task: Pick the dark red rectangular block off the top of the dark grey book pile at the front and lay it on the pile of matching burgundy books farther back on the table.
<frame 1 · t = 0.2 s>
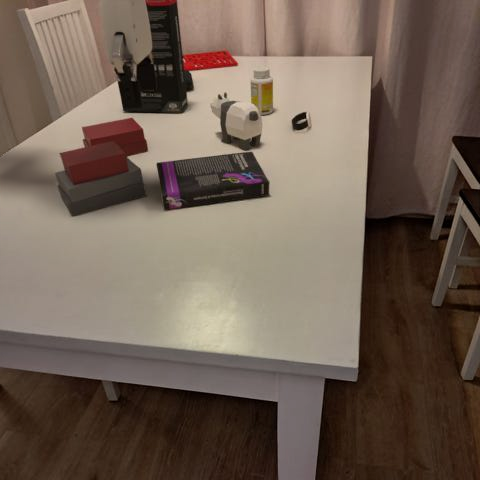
hand: (141, 98, 78), 17 cm above the table, tool pointing down, fingers open, 9 cm apart
supplement bottle: (262, 113, 120), on the table
graphics card box: (156, 110, 126), on the table
box: (211, 188, 89), on the table
grey book pile: (103, 196, 88), on the table
carrying case: (175, 87, 142), on the table
dark red rectangular block: (96, 171, 85), point 5 cm above the table, touching grey book pile
maze puzzle: (204, 62, 164), on the table
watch: (301, 127, 111), on the table
giant panda: (236, 142, 106), on the table
burgundy book pile: (116, 150, 105), on the table
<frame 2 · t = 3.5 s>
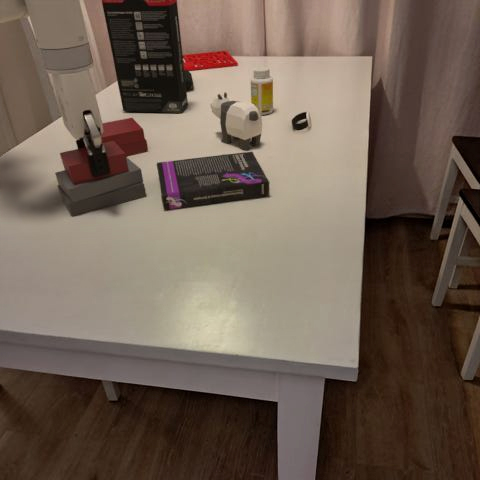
hand: (95, 167, 84), 6 cm above the table, tool pointing down, fingers closed on dark red rectangular block, 7 cm apart
dark red rectangular block: (96, 171, 85), point 5 cm above the table, touching grey book pile, gripper
everything else where it was.
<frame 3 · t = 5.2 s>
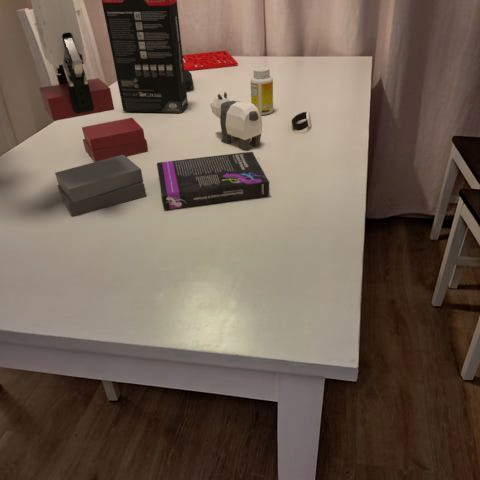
hand: (78, 104, 78), 16 cm above the table, tool pointing down, fingers closed on dark red rectangular block, 7 cm apart
dark red rectangular block: (79, 109, 78), point 16 cm above the table, touching gripper
everything else where it was.
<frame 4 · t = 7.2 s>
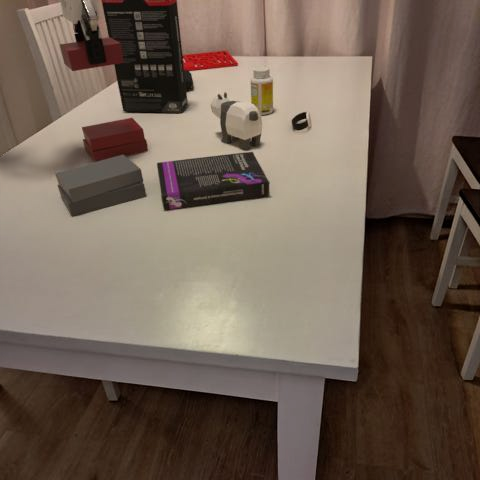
hand: (92, 58, 90), 19 cm above the table, tool pointing down, fingers closed on dark red rectangular block, 7 cm apart
dark red rectangular block: (94, 63, 91), point 18 cm above the table, touching gripper
everything else where it was.
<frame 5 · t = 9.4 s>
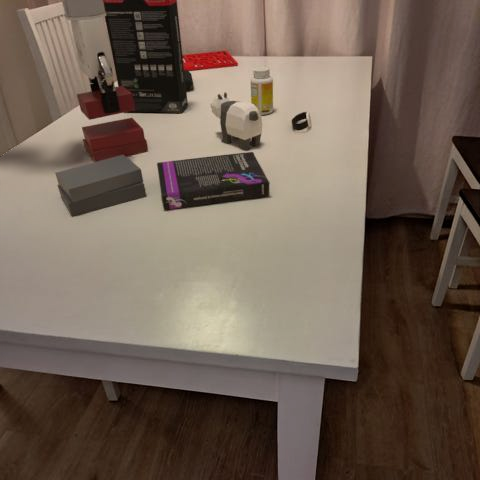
hand: (107, 106, 99), 9 cm above the table, tool pointing down, fingers closed on dark red rectangular block, 7 cm apart
dark red rectangular block: (108, 110, 99), point 9 cm above the table, touching gripper
everything else where it was.
when the fingers open (6 cm above the table, at t = 10.9 s): dark red rectangular block stays where it is, resting on burgundy book pile.
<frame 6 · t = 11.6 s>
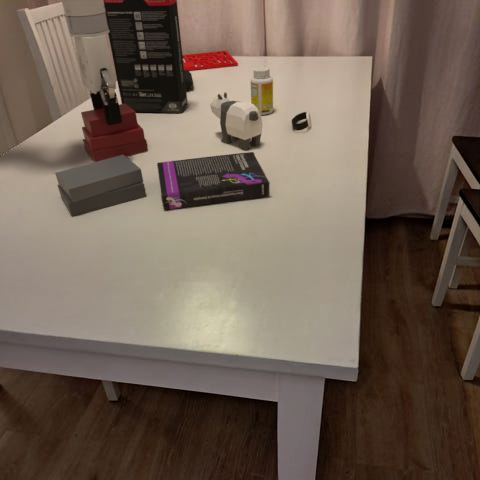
hand: (108, 117, 100), 7 cm above the table, tool pointing down, fingers open, 9 cm apart
dark red rectangular block: (111, 128, 102), point 5 cm above the table, touching burgundy book pile
everything else where it was.
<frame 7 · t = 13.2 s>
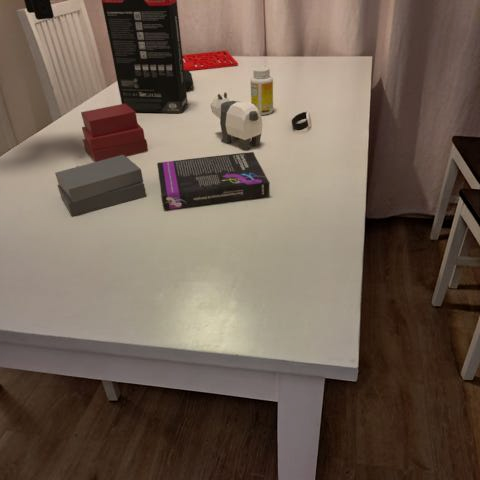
hand: (40, 15, 89), 26 cm above the table, tool pointing down, fingers open, 9 cm apart
nothing on the table moved.
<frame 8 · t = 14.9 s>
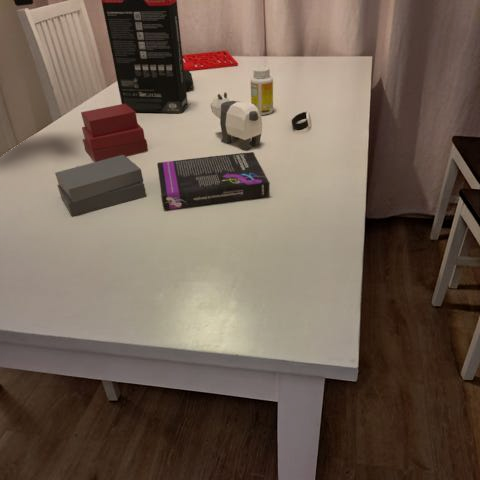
hand: (20, 2, 88), 28 cm above the table, tool pointing down, fingers open, 9 cm apart
nothing on the table moved.
at the end: dark red rectangular block 0.0 cm off-centre on the burgundy book pile, point 5.0 cm above the burgundy book pile's base; dark red rectangular block tilted 0°; the gripper is holding nothing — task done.
